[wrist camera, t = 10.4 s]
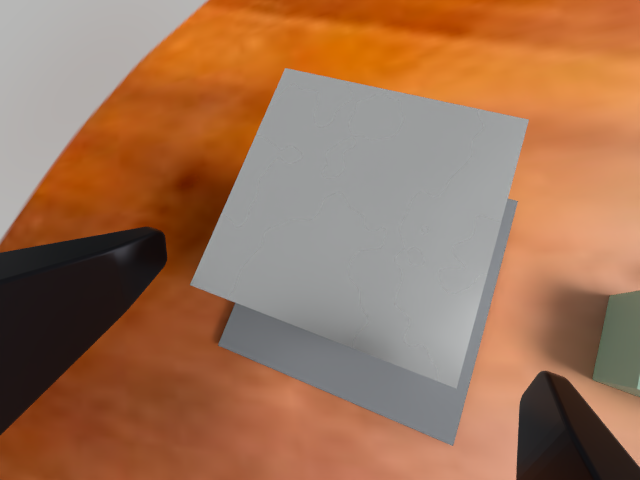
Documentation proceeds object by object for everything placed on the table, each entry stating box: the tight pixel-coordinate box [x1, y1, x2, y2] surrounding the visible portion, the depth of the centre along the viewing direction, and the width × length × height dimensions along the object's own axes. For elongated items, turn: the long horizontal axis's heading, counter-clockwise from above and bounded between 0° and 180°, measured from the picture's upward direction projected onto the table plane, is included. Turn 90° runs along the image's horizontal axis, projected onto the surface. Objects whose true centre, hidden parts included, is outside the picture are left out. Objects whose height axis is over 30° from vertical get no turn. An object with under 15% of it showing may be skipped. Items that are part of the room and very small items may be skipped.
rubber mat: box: [218, 199, 518, 446], centre depth 18 cm, size 12×12×1 cm
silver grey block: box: [190, 68, 529, 389], centre depth 13 cm, size 6×6×10 cm
